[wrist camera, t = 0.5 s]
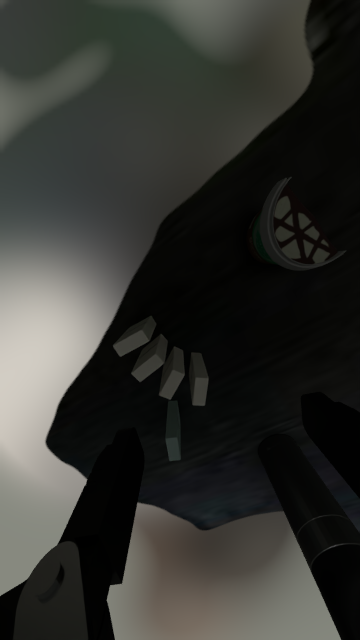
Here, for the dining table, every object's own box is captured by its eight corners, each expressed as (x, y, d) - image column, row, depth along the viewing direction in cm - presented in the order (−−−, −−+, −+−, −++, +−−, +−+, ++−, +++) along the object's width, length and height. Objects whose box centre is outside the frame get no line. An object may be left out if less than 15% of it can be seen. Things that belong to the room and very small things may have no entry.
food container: (224, 235, 30) (246, 216, 20) (251, 206, 29) (288, 172, 19) (268, 285, 32) (307, 290, 23) (295, 260, 31) (348, 254, 22)
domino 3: (183, 350, 35) (184, 374, 27) (172, 370, 36) (170, 399, 28) (174, 346, 35) (172, 369, 26) (163, 366, 36) (158, 395, 27)
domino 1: (156, 324, 34) (149, 341, 25) (134, 336, 34) (120, 356, 26) (151, 315, 33) (141, 329, 25) (129, 327, 34) (112, 345, 25)
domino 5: (201, 353, 36) (208, 378, 27) (198, 374, 37) (204, 405, 28) (191, 352, 35) (195, 377, 27) (188, 374, 37) (192, 405, 28)
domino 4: (177, 400, 38) (177, 437, 30) (180, 419, 40) (180, 459, 31) (168, 401, 38) (165, 438, 30) (171, 420, 40) (169, 461, 31)
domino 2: (167, 341, 35) (164, 363, 26) (149, 356, 36) (140, 382, 27) (161, 333, 34) (155, 353, 26) (142, 348, 35) (130, 373, 26)
